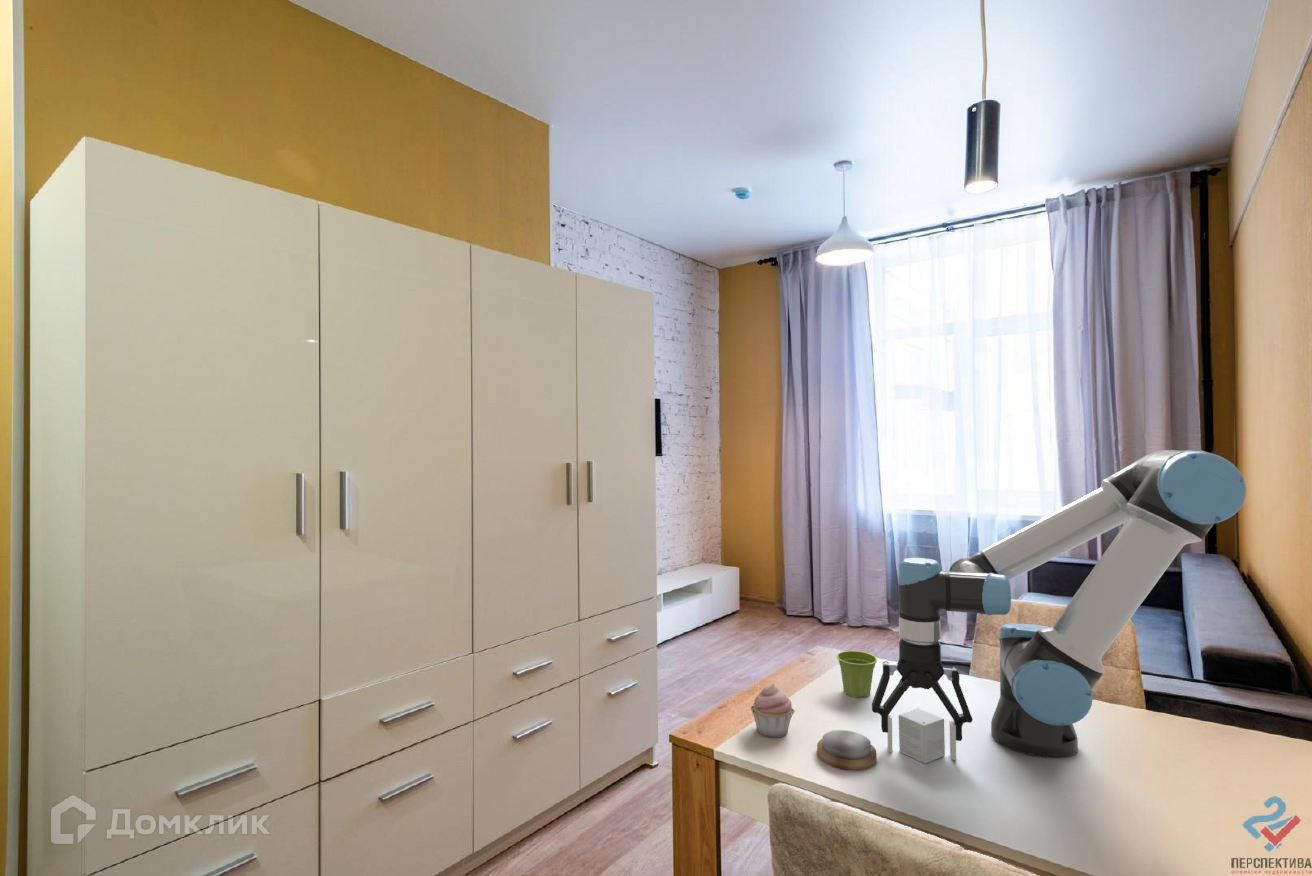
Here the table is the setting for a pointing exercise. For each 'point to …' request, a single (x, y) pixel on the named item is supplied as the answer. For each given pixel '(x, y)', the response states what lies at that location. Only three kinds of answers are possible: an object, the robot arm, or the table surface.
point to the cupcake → (772, 712)
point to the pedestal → (846, 750)
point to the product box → (921, 735)
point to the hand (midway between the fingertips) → (921, 752)
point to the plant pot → (856, 672)
